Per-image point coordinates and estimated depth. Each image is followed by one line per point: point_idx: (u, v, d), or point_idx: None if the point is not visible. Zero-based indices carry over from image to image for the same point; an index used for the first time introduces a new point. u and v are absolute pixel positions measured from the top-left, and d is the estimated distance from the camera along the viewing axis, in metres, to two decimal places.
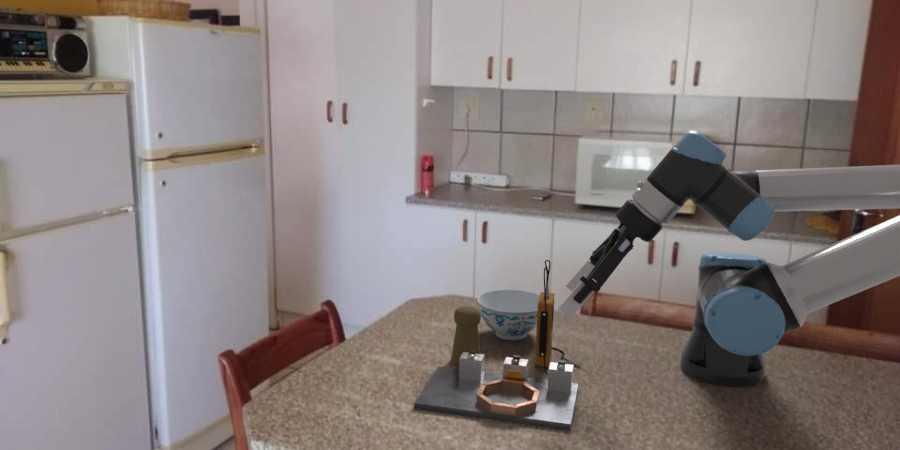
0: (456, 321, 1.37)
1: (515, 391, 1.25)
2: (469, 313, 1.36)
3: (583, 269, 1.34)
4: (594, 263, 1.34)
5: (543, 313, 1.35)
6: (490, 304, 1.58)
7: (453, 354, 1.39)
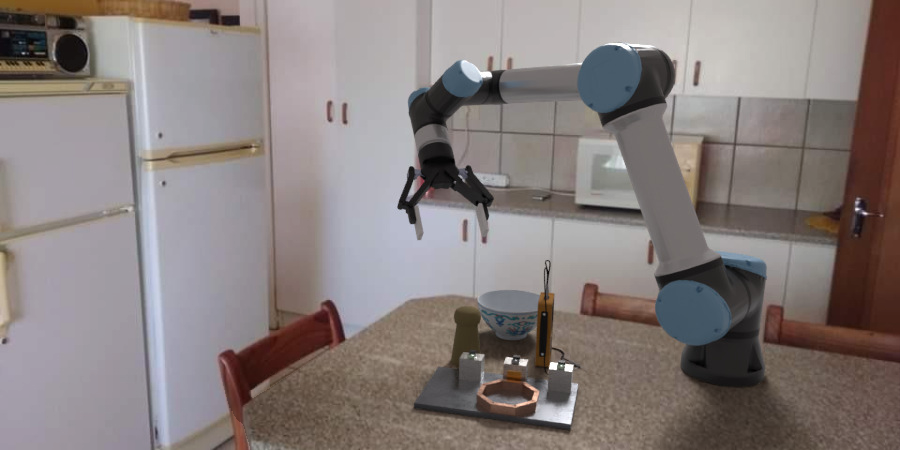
0: (456, 321, 1.37)
1: (515, 391, 1.25)
2: (469, 313, 1.36)
3: (477, 216, 1.49)
4: None
5: (543, 313, 1.35)
6: (490, 304, 1.58)
7: (453, 354, 1.39)
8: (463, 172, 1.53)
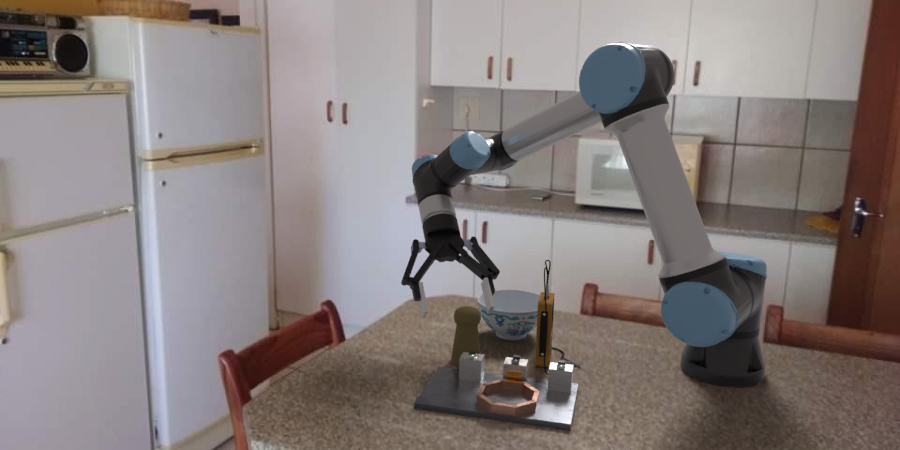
0: (456, 321, 1.37)
1: (515, 391, 1.25)
2: (469, 313, 1.36)
3: (483, 290, 1.46)
4: None
5: (543, 313, 1.35)
6: None
7: (453, 354, 1.39)
8: (468, 244, 1.50)
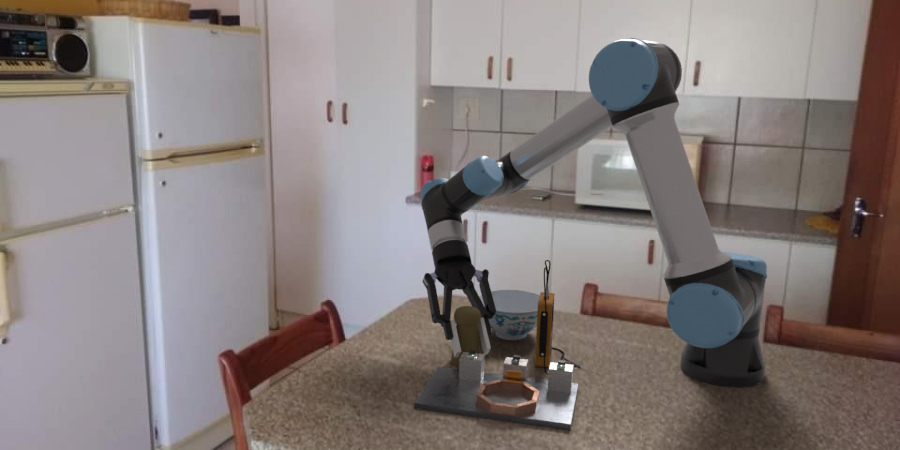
0: (456, 321, 1.37)
1: (515, 391, 1.25)
2: (469, 313, 1.36)
3: (479, 331, 1.40)
4: None
5: (543, 313, 1.35)
6: None
7: (453, 354, 1.39)
8: (478, 274, 1.45)
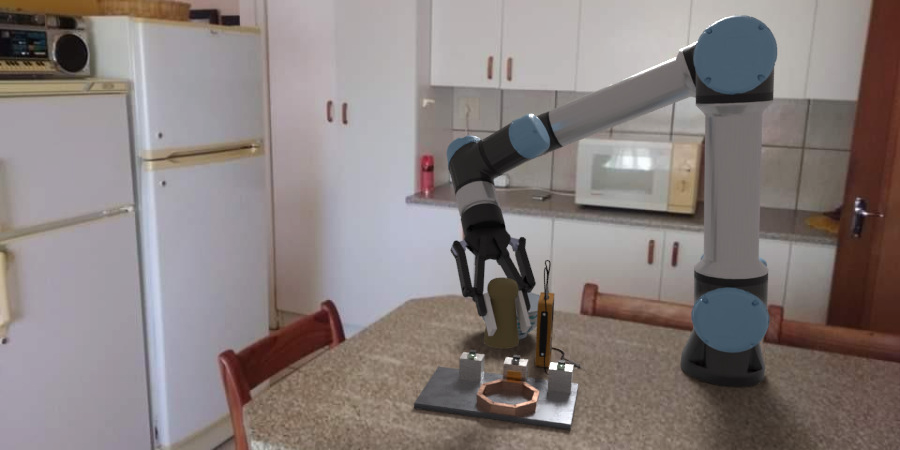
0: (490, 294, 1.19)
1: (515, 391, 1.25)
2: (505, 284, 1.18)
3: (516, 306, 1.22)
4: None
5: (543, 313, 1.35)
6: None
7: (486, 332, 1.21)
8: (514, 243, 1.27)
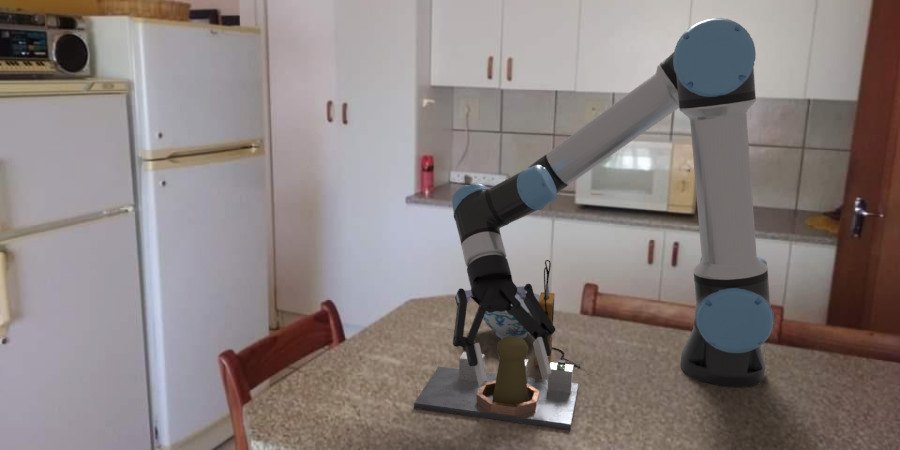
0: (500, 355, 1.19)
1: None
2: (515, 345, 1.18)
3: (536, 352, 1.23)
4: (538, 338, 1.23)
5: None
6: None
7: (496, 392, 1.21)
8: (522, 291, 1.27)
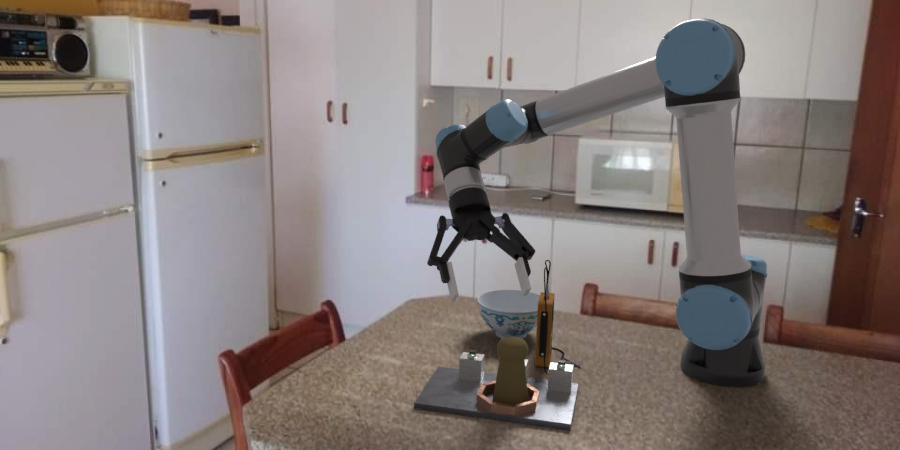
0: (500, 354, 1.19)
1: None
2: (515, 345, 1.18)
3: (517, 272, 1.32)
4: None
5: (543, 313, 1.35)
6: (490, 304, 1.58)
7: (496, 392, 1.21)
8: (500, 221, 1.36)
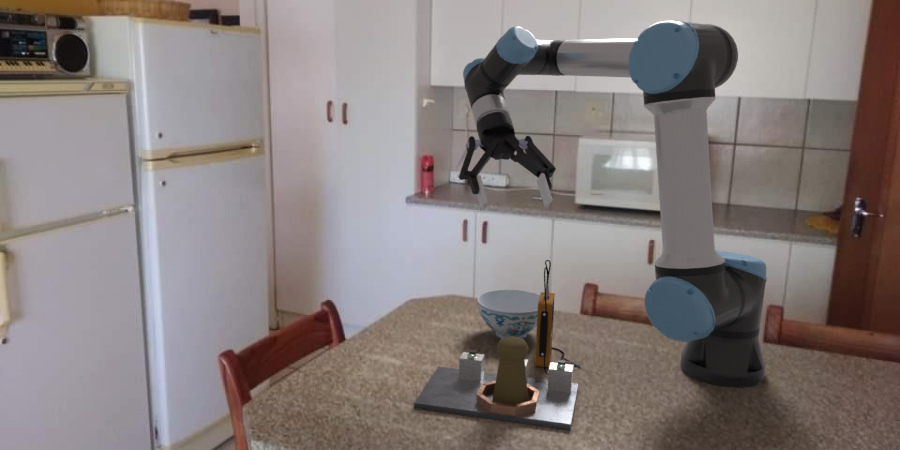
0: (500, 354, 1.19)
1: None
2: (515, 345, 1.18)
3: (539, 187, 1.46)
4: None
5: (543, 313, 1.35)
6: (490, 304, 1.58)
7: (496, 392, 1.21)
8: (523, 143, 1.50)
